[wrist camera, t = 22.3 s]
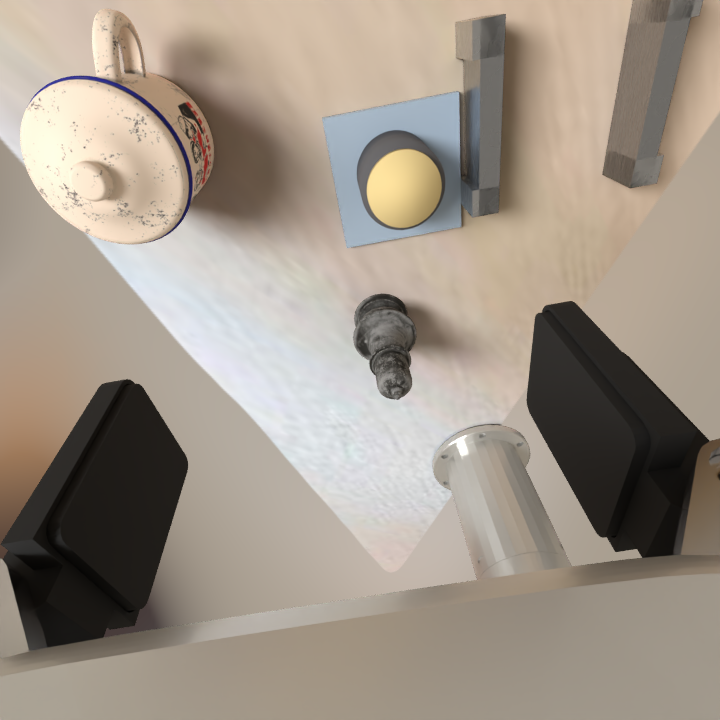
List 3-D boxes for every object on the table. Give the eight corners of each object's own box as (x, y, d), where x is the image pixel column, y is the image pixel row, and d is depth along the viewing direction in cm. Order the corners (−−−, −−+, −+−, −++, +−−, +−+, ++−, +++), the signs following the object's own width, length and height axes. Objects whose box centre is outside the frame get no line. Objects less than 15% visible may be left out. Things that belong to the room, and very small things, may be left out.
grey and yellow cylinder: (435, 202, 35) (449, 224, 31) (363, 217, 36) (369, 240, 32) (429, 122, 32) (445, 134, 28) (349, 139, 32) (354, 153, 28)
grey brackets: (626, 170, 36) (656, 183, 32) (459, 201, 36) (472, 217, 33) (666, -21, 28) (710, -28, 25) (455, 22, 29) (472, 20, 26)
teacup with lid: (219, 211, 35) (183, 274, 26) (99, 193, 34) (15, 252, 24) (217, 29, 28) (167, 27, 19) (65, -4, 27) (-70, -25, 17)
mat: (459, 224, 37) (461, 226, 37) (346, 245, 38) (346, 248, 37) (456, 91, 31) (459, 92, 31) (322, 117, 32) (322, 118, 31)
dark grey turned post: (421, 307, 42) (451, 387, 33) (388, 350, 45) (407, 435, 35) (371, 280, 40) (387, 357, 30) (340, 327, 43) (345, 411, 33)
